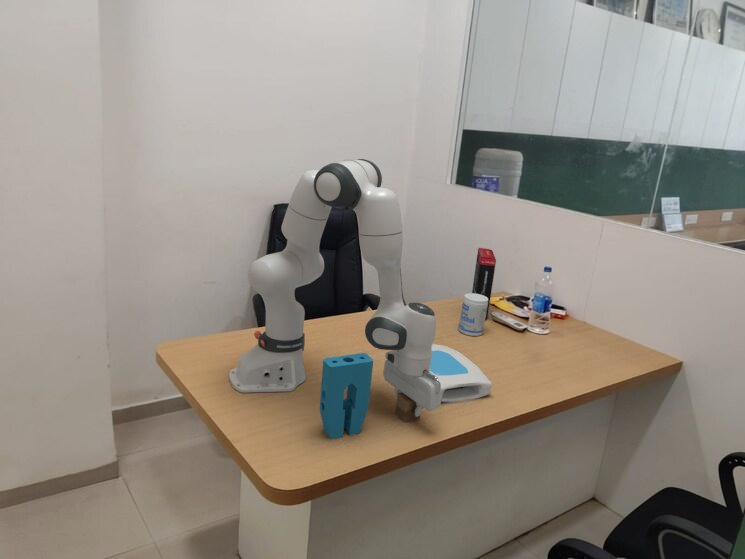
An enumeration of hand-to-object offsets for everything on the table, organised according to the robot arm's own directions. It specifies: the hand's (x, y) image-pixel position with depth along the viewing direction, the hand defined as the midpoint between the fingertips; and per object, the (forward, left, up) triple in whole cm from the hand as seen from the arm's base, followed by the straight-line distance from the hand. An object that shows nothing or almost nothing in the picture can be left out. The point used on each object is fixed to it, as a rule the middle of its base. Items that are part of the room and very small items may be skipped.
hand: (408, 409), depth 149 cm
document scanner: (+20, +17, -3) cm, 26 cm away
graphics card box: (+70, +67, -2) cm, 97 cm away
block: (-20, -2, -2) cm, 20 cm away
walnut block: (0, 0, -2) cm, 2 cm away
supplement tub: (+54, +49, -2) cm, 73 cm away
